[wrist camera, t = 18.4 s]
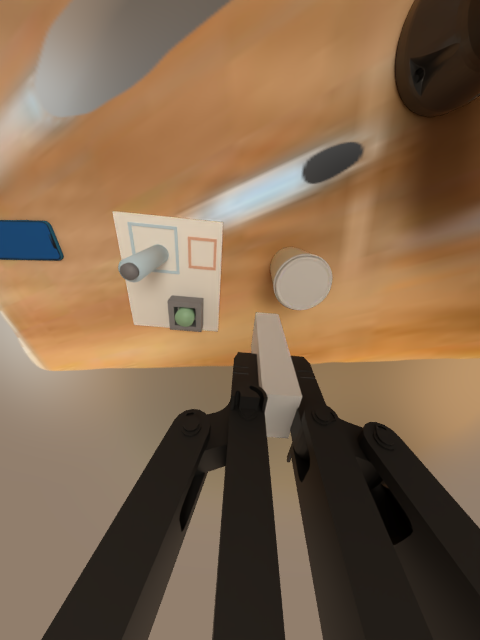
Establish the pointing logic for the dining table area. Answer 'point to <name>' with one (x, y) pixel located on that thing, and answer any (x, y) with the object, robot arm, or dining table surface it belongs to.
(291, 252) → the coffee cup
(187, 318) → the button
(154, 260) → the marker
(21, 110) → the dining table surface
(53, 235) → the smartphone
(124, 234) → the board
